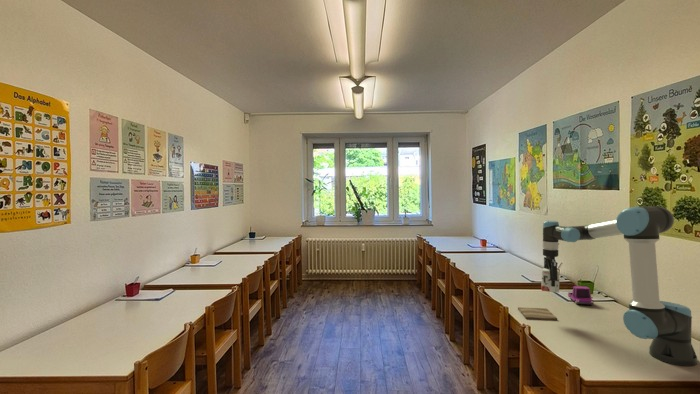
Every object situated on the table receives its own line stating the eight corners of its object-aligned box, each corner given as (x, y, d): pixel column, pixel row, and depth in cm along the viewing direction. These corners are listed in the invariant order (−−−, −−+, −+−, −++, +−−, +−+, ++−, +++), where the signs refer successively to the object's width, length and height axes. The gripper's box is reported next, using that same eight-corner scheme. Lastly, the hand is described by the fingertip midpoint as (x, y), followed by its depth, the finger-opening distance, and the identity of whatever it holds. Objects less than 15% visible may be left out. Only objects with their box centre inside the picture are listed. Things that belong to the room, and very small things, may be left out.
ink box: (541, 290, 197) (541, 269, 197) (541, 288, 201) (541, 268, 201) (559, 293, 193) (559, 271, 193) (559, 290, 197) (559, 269, 197)
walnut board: (557, 320, 195) (557, 318, 195) (526, 319, 198) (526, 316, 198) (546, 310, 211) (546, 308, 211) (517, 309, 214) (517, 307, 214)
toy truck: (575, 305, 218) (575, 289, 218) (566, 298, 233) (566, 282, 233) (595, 306, 216) (595, 290, 215) (584, 298, 231) (584, 283, 231)
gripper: (564, 252, 186) (564, 295, 187) (551, 245, 205) (551, 285, 206) (549, 252, 188) (548, 295, 189) (537, 245, 206) (537, 284, 207)
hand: (550, 290), depth 197 cm, fingers closed on ink box, 6 cm apart
